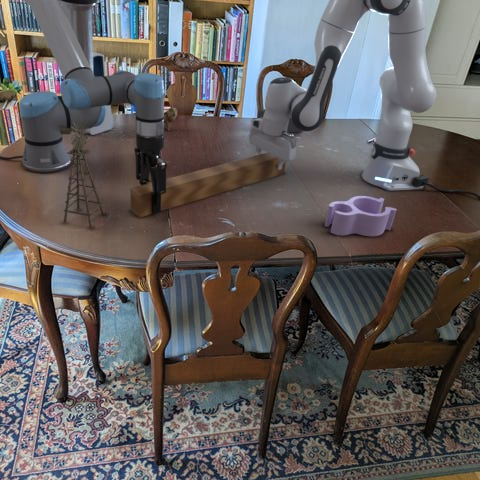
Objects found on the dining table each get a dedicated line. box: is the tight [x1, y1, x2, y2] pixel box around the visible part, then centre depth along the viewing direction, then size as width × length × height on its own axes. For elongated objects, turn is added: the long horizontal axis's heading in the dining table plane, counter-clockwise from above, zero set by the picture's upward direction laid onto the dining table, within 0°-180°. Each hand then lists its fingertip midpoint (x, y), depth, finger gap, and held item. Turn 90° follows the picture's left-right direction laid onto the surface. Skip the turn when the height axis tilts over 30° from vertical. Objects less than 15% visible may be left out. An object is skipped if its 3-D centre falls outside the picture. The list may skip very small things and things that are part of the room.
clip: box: [324, 195, 398, 237], centre depth 141 cm, size 20×12×7 cm, turn 109°
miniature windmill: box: [59, 115, 105, 229], centre depth 124 cm, size 9×8×30 cm
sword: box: [367, 137, 376, 144], centre depth 215 cm, size 31×3×1 cm, turn 126°
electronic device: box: [80, 51, 114, 136], centre depth 182 cm, size 12×8×30 cm, turn 148°
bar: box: [129, 152, 287, 218], centre depth 153 cm, size 60×5×7 cm, turn 131°
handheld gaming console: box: [256, 108, 302, 133], centre depth 206 cm, size 23×3×10 cm, turn 108°
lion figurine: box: [164, 107, 178, 132], centre depth 195 cm, size 15×5×9 cm, turn 110°
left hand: (151, 207), depth 140 cm, fingers closed on bar, 5 cm apart
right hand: (269, 164), depth 167 cm, fingers open, 8 cm apart
